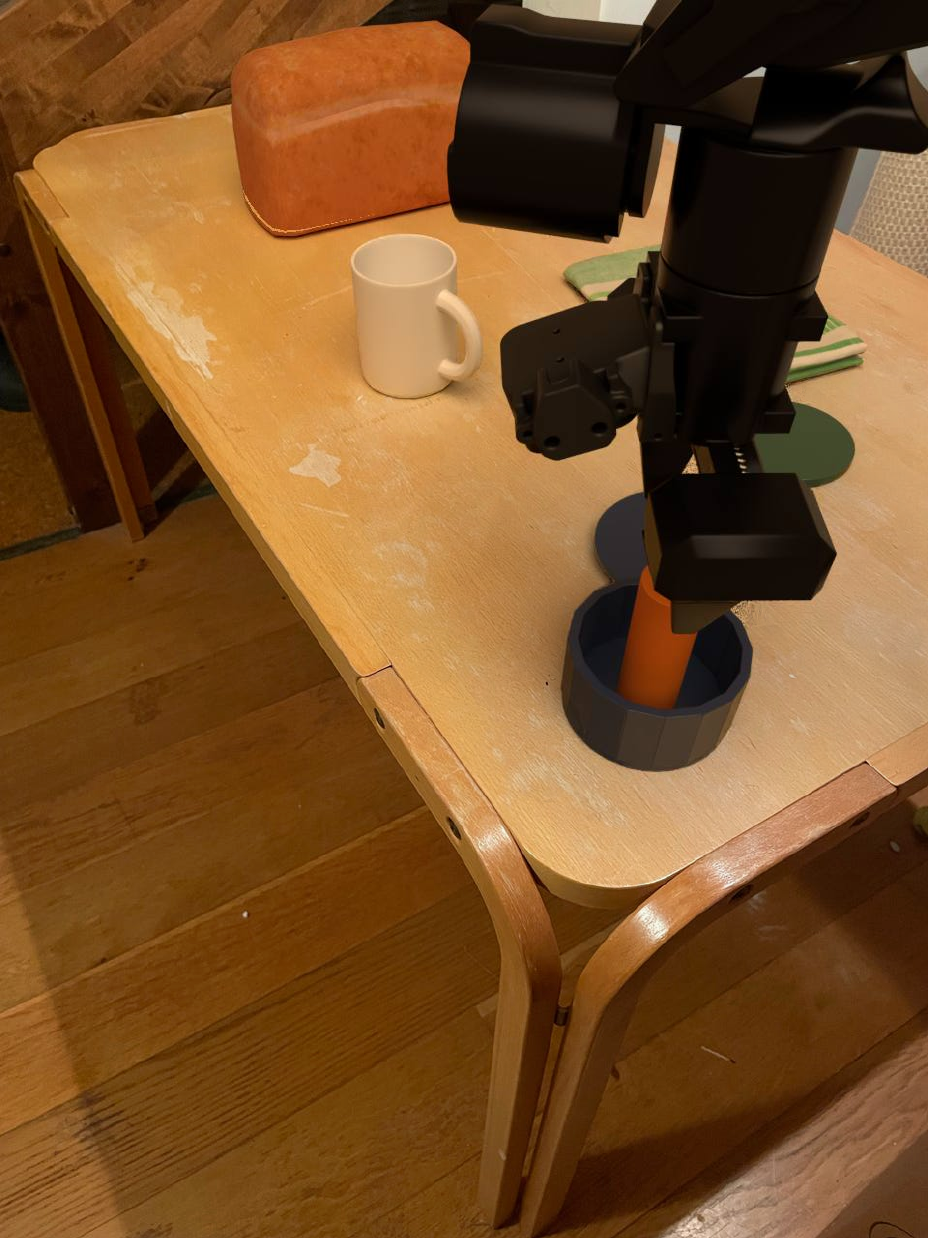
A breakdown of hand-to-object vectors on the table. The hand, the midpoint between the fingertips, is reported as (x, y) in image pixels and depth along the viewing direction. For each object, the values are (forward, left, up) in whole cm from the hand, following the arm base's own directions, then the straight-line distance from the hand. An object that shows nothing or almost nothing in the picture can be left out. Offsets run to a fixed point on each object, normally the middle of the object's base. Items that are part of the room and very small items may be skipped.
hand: (667, 560), depth 44 cm
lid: (-1, -14, -12) cm, 19 cm away
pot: (-1, -1, -13) cm, 13 cm away
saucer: (-8, -29, -13) cm, 32 cm away
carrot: (-1, -1, -12) cm, 13 cm away
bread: (+39, -61, -13) cm, 74 cm away
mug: (+22, -29, -13) cm, 39 cm away
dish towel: (0, -45, -13) cm, 47 cm away
